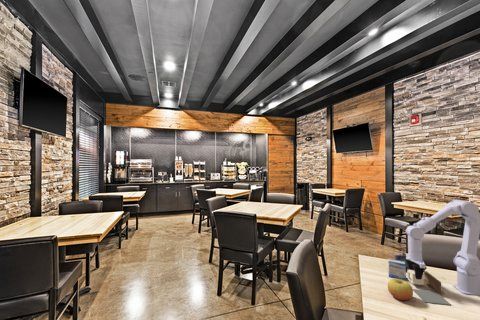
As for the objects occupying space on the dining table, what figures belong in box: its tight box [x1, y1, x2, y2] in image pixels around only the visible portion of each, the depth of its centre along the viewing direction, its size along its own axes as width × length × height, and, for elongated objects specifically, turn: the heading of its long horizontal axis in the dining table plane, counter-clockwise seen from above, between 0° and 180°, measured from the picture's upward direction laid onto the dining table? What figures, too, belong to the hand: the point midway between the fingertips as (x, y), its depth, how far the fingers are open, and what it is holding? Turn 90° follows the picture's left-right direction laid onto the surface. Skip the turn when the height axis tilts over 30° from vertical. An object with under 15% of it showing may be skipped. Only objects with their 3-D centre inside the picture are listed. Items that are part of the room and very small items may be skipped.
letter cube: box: [407, 270, 425, 286], centre depth 119 cm, size 5×5×5 cm
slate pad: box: [412, 288, 452, 306], centre depth 108 cm, size 10×11×1 cm
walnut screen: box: [423, 270, 445, 296], centre depth 117 cm, size 3×13×6 cm, turn 168°
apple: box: [387, 278, 414, 301], centre depth 108 cm, size 10×10×8 cm
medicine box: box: [387, 258, 407, 281], centre depth 128 cm, size 8×4×9 cm, turn 58°
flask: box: [393, 250, 409, 272], centre depth 136 cm, size 9×3×11 cm, turn 76°
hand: (415, 276), depth 119 cm, fingers closed on letter cube, 5 cm apart
